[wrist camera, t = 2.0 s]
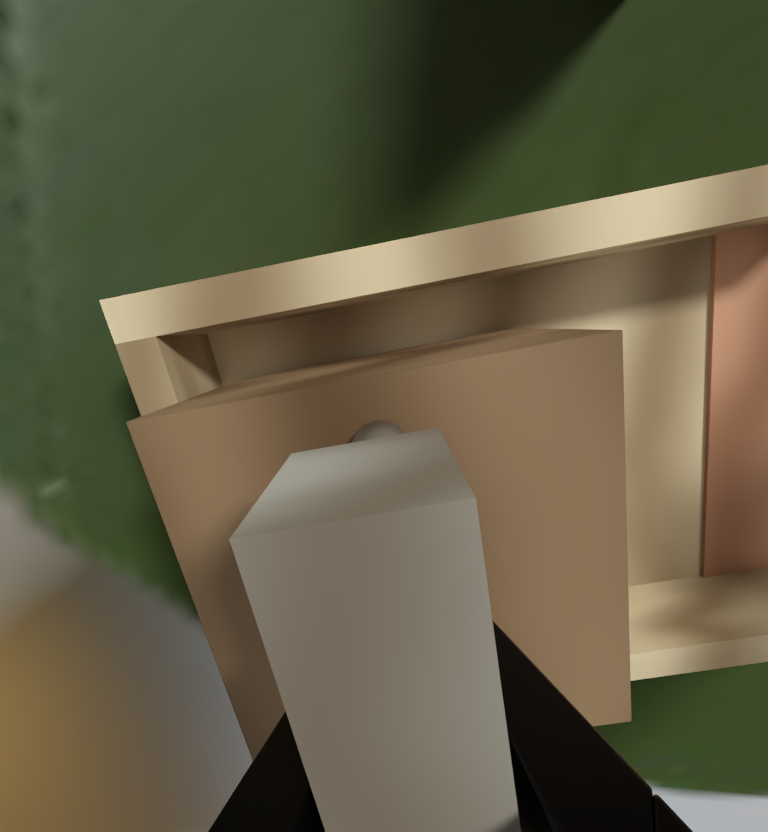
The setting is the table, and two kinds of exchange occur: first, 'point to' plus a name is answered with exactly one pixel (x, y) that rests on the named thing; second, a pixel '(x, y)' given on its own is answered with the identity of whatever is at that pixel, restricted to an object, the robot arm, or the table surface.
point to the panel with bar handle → (406, 558)
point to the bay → (551, 309)
